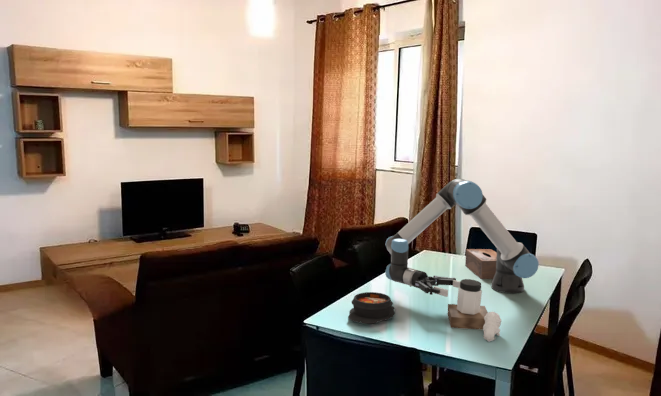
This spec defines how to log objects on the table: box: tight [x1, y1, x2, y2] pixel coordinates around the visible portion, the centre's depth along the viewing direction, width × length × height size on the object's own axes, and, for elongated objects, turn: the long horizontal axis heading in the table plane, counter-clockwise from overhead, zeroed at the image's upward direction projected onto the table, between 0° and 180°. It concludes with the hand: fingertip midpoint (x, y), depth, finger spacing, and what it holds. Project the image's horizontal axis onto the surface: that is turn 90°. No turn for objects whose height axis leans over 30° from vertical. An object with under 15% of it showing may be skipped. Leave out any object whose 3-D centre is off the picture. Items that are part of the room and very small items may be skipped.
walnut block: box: [446, 303, 489, 331], centre depth 205 cm, size 15×15×5 cm
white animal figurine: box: [482, 311, 502, 342], centre depth 190 cm, size 6×8×12 cm
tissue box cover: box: [464, 248, 497, 280], centre depth 278 cm, size 26×14×10 cm, turn 3°
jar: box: [456, 278, 483, 315], centre depth 204 cm, size 9×8×12 cm
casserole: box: [347, 291, 396, 325], centre depth 210 cm, size 25×19×8 cm
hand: (457, 289), depth 208 cm, fingers open, 13 cm apart
